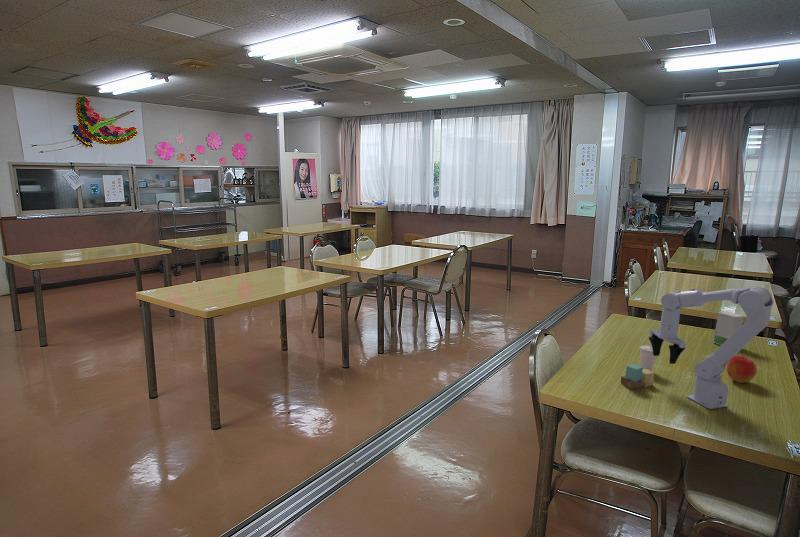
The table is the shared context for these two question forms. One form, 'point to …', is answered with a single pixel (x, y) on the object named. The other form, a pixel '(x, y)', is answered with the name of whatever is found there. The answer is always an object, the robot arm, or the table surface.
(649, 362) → the smoothie
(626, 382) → the walnut slab
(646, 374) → the mustard block
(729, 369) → the apple
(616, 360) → the table surface
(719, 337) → the skincare box
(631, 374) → the teal block
